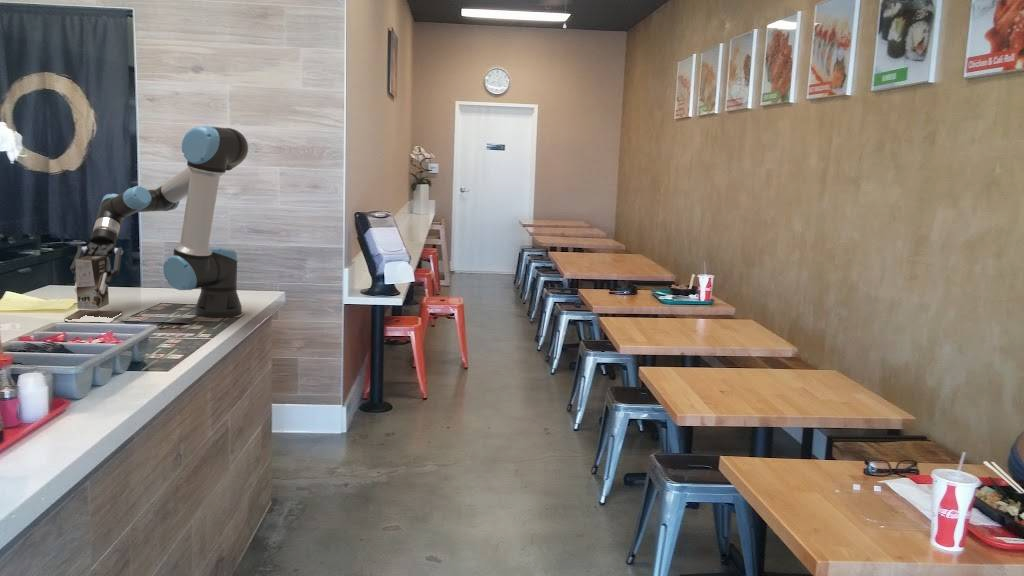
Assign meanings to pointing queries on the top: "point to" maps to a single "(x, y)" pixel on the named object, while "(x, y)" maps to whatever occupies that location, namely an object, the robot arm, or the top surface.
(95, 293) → the coffee box
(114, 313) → the walnut board
